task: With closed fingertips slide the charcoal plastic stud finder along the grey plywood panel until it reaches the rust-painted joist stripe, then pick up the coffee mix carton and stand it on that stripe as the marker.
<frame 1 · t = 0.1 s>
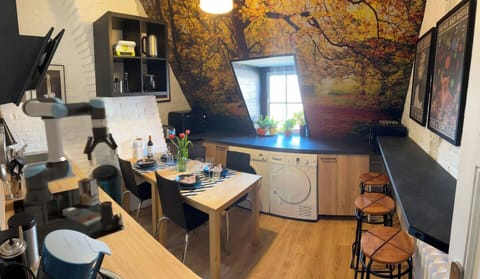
hand: (102, 162, 172), 28 cm above the worktop, fingers open, 13 cm apart
finder: (70, 211, 167), point 3 cm above the worktop, slide at 0.0 cm
coffee box: (90, 205, 183), on the worktop
panel: (83, 217, 165), on the worktop
scope: (110, 228, 152), on the worktop
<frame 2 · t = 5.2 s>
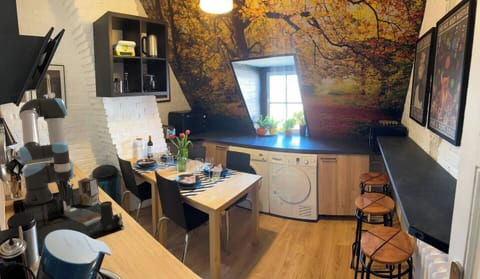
hand: (67, 210, 168), 3 cm above the worktop, fingers closed
finder: (71, 212, 166), point 3 cm above the worktop, slide at 1.6 cm, touching gripper
everything else where it was.
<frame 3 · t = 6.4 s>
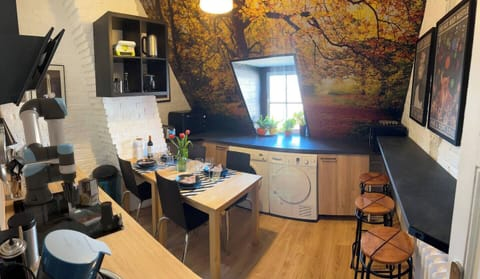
hand: (72, 212, 165), 2 cm above the worktop, fingers closed
finder: (76, 213, 164), point 3 cm above the worktop, slide at 6.2 cm, touching gripper
everything else where it was.
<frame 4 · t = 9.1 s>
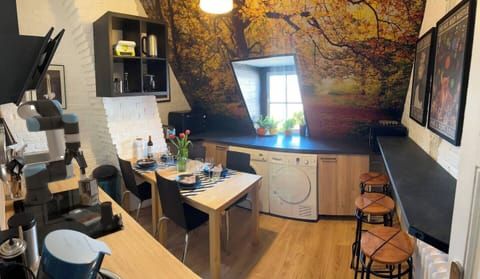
hand: (76, 177, 170), 20 cm above the worktop, fingers open, 13 cm apart
finder: (76, 213, 164), point 3 cm above the worktop, slide at 6.2 cm
everything else where it was.
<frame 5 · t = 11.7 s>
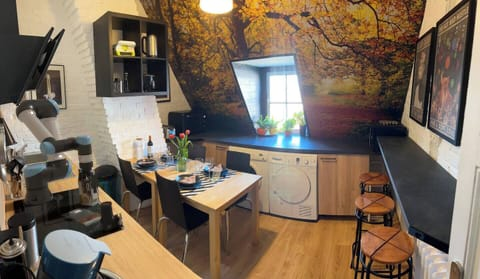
hand: (89, 196, 182), 5 cm above the worktop, fingers closed on coffee box, 10 cm apart
coffee box: (90, 205, 183), on the worktop, touching gripper
everything else where it was.
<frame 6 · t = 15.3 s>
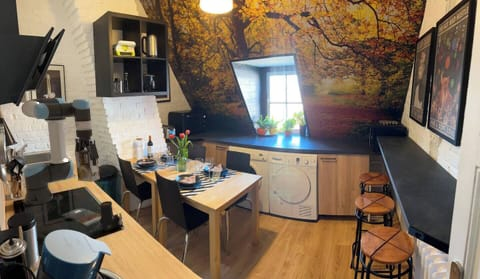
hand: (88, 170, 159), 27 cm above the worktop, fingers closed on coffee box, 10 cm apart
coffee box: (89, 180, 160), point 22 cm above the worktop, touching gripper
everything else where it was.
when the fingers open (8 cm above the worktop, at t = 19.4 s): coffee box drops 1 cm, resting on panel.
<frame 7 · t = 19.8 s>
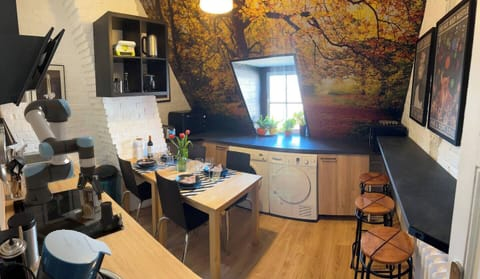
hand: (91, 203, 163), 9 cm above the worktop, fingers open, 13 cm apart
coffee box: (93, 216, 164), point 1 cm above the worktop, touching panel
everything else where it was.
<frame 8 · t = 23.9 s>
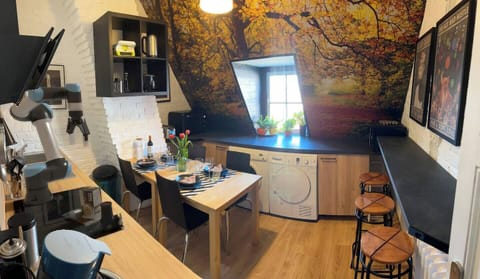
hand: (79, 145, 179), 37 cm above the worktop, fingers open, 13 cm apart
nothing on the worktop moved.
at the end: finder slide at 6.1 cm; coffee box inside the target area (0.0 cm from its centre), point 0.8 cm above the worktop; coffee box tilted 0° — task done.
